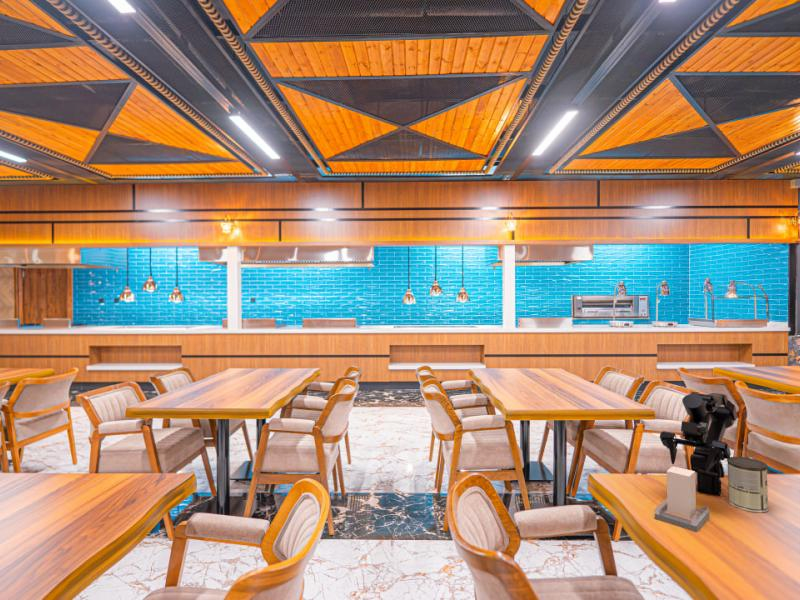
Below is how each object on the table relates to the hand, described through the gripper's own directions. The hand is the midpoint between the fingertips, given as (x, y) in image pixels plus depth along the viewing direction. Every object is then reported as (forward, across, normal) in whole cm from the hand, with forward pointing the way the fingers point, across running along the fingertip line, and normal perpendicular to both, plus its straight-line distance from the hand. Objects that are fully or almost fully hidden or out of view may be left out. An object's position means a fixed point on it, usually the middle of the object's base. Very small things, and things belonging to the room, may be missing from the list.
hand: (688, 467), depth 140 cm
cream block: (+14, 0, +3) cm, 14 cm away
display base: (+15, 0, +4) cm, 15 cm away
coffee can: (-2, +12, +22) cm, 25 cm away
